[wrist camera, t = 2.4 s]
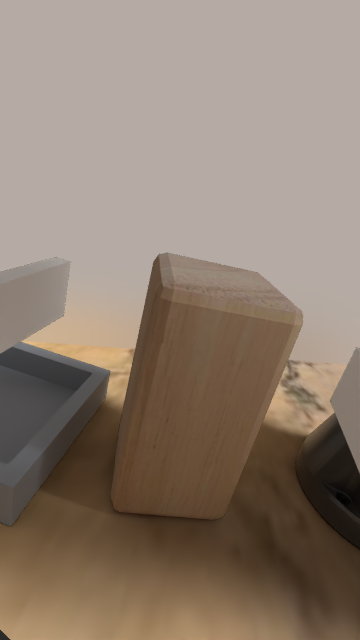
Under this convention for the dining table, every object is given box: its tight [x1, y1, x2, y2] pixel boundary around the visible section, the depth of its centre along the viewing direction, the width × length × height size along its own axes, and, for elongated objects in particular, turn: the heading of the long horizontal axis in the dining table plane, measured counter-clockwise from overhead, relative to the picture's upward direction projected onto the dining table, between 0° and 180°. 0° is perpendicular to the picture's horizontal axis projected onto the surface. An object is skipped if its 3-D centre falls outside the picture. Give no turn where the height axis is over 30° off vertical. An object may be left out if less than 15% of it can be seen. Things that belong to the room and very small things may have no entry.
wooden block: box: [111, 253, 303, 520], centre depth 28 cm, size 10×10×20 cm
